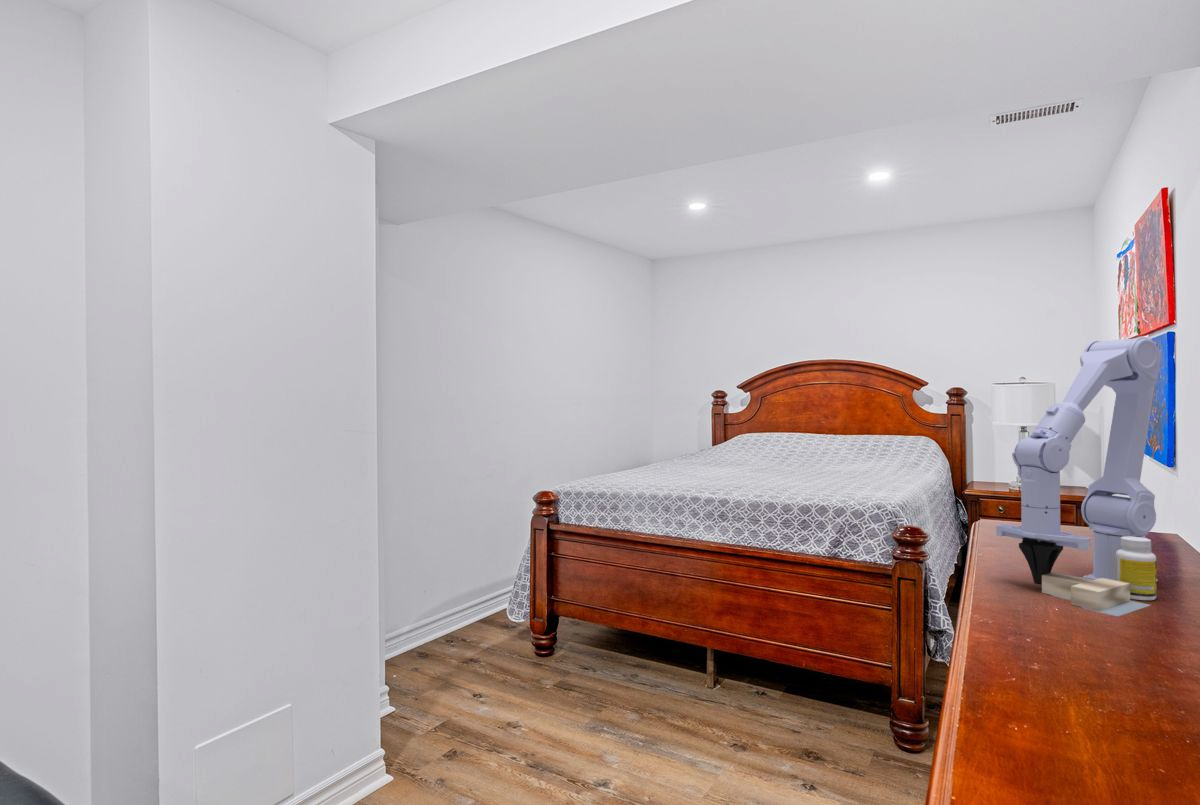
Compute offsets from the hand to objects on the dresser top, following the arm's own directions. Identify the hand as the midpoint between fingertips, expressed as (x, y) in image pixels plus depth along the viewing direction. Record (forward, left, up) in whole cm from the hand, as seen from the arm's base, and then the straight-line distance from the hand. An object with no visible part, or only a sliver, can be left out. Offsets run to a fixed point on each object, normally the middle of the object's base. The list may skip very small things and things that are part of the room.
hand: (1041, 583), depth 117 cm
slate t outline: (0, +8, -1) cm, 8 cm away
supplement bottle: (-9, +10, -1) cm, 14 cm away
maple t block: (0, +6, -1) cm, 6 cm away
